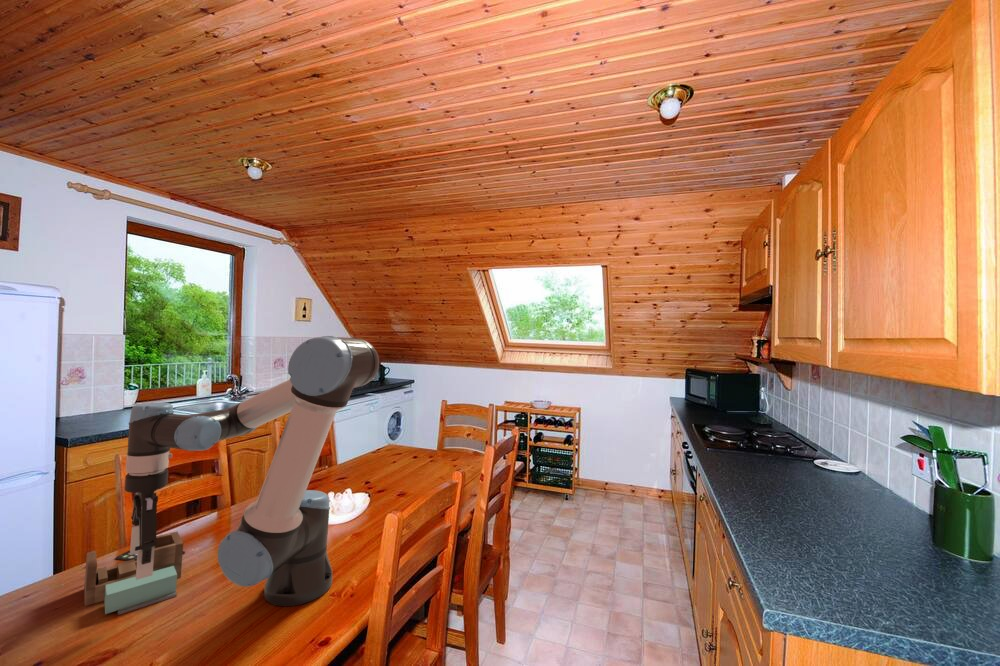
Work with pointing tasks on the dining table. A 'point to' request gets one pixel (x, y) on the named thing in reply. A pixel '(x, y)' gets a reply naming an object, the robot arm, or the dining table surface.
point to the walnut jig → (130, 567)
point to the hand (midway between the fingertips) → (140, 564)
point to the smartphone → (130, 556)
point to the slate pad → (146, 603)
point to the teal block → (139, 589)
